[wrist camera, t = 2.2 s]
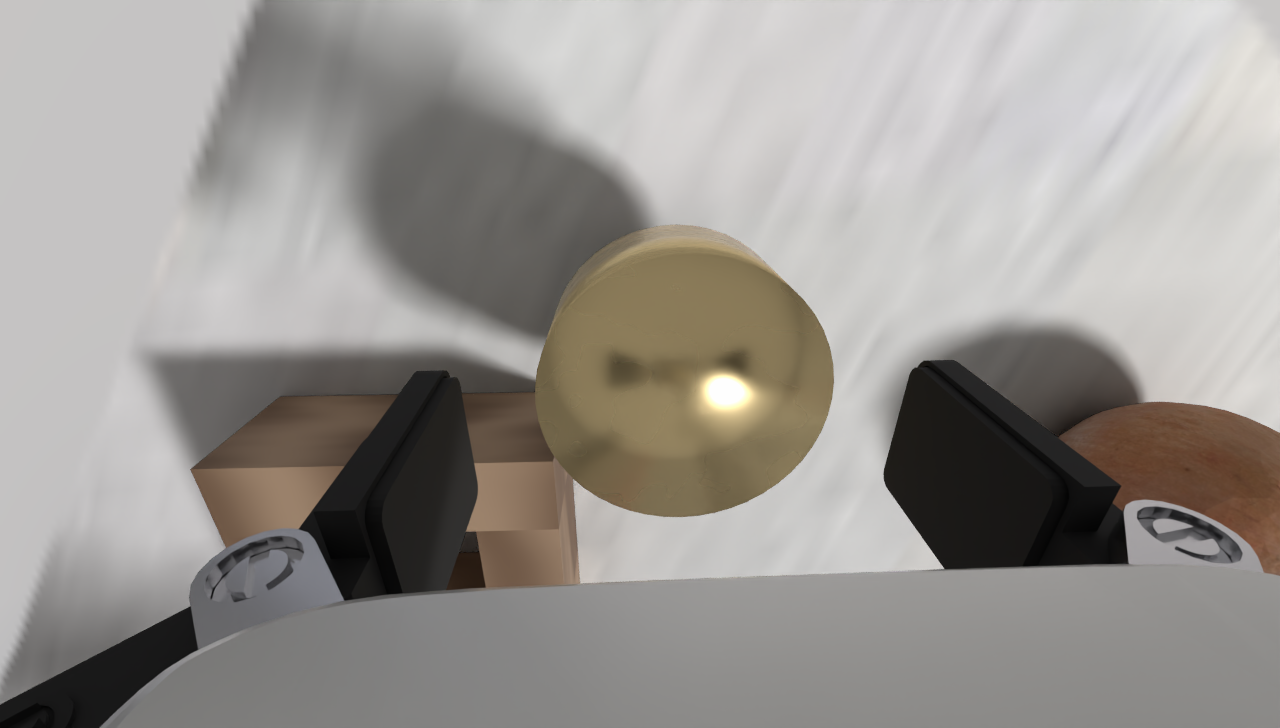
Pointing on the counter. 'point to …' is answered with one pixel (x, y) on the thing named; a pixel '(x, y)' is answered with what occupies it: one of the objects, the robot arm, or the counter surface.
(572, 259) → the counter surface
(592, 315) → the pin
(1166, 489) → the onion
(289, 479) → the block
